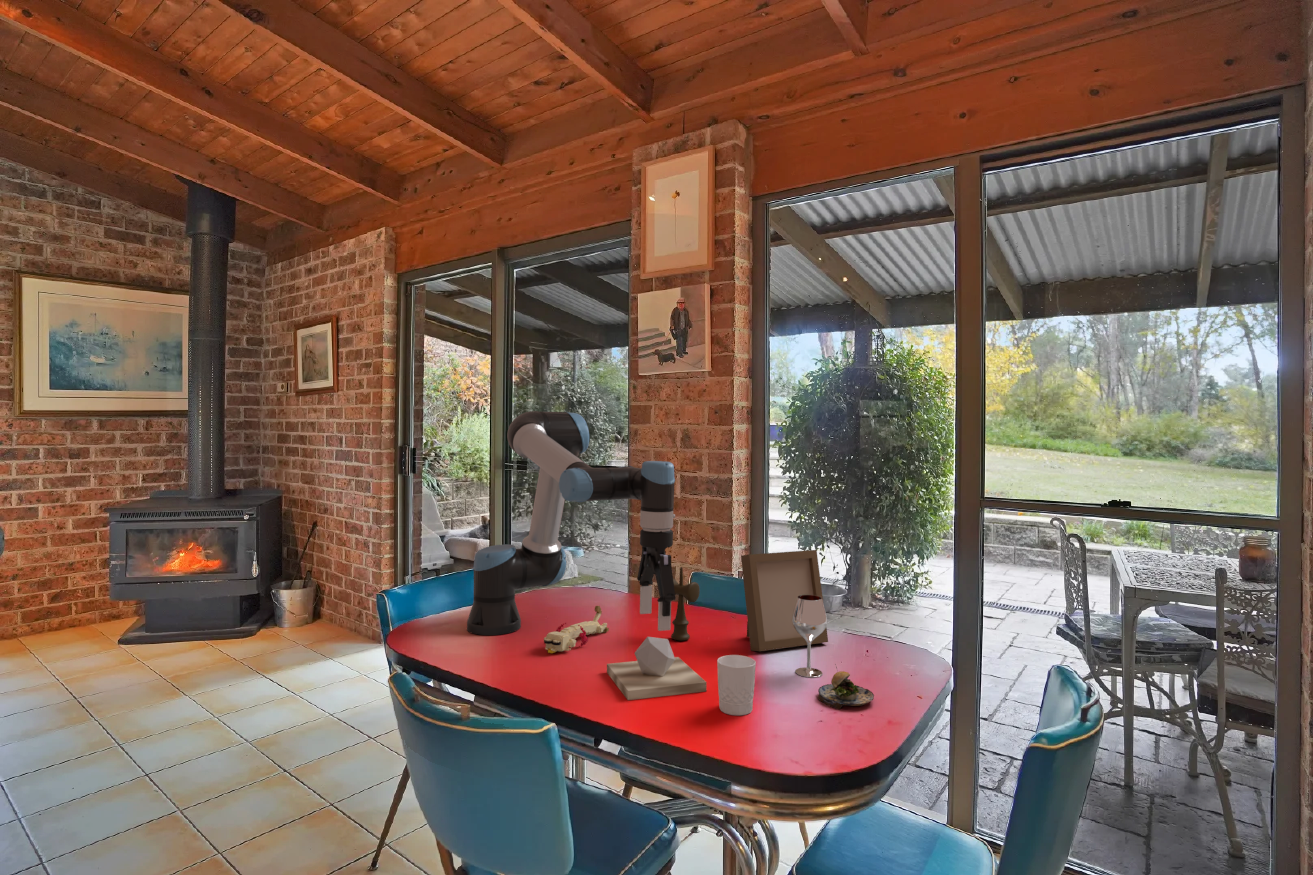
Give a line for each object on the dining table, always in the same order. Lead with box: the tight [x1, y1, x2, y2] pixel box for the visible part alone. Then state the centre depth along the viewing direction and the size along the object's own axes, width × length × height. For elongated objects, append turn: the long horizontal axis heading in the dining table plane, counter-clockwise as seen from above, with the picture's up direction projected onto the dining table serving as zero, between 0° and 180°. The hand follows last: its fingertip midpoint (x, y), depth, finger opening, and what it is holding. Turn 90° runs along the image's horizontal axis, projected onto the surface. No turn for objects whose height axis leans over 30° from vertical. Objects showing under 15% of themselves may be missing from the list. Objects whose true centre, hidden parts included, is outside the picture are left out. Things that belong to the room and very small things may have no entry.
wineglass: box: [792, 595, 828, 678], centre depth 165 cm, size 8×8×18 cm
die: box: [634, 636, 676, 677], centre depth 158 cm, size 8×9×10 cm
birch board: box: [606, 656, 707, 701], centre depth 158 cm, size 18×18×2 cm
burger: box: [817, 663, 875, 710], centre depth 149 cm, size 12×12×8 cm
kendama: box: [670, 566, 701, 642], centre depth 191 cm, size 6×10×20 cm, turn 51°
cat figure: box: [543, 605, 610, 654], centre depth 187 cm, size 10×9×25 cm
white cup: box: [716, 654, 757, 717], centre depth 143 cm, size 8×8×10 cm
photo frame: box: [740, 549, 829, 652], centre depth 190 cm, size 15×22×25 cm
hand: (654, 621), depth 159 cm, fingers open, 13 cm apart
